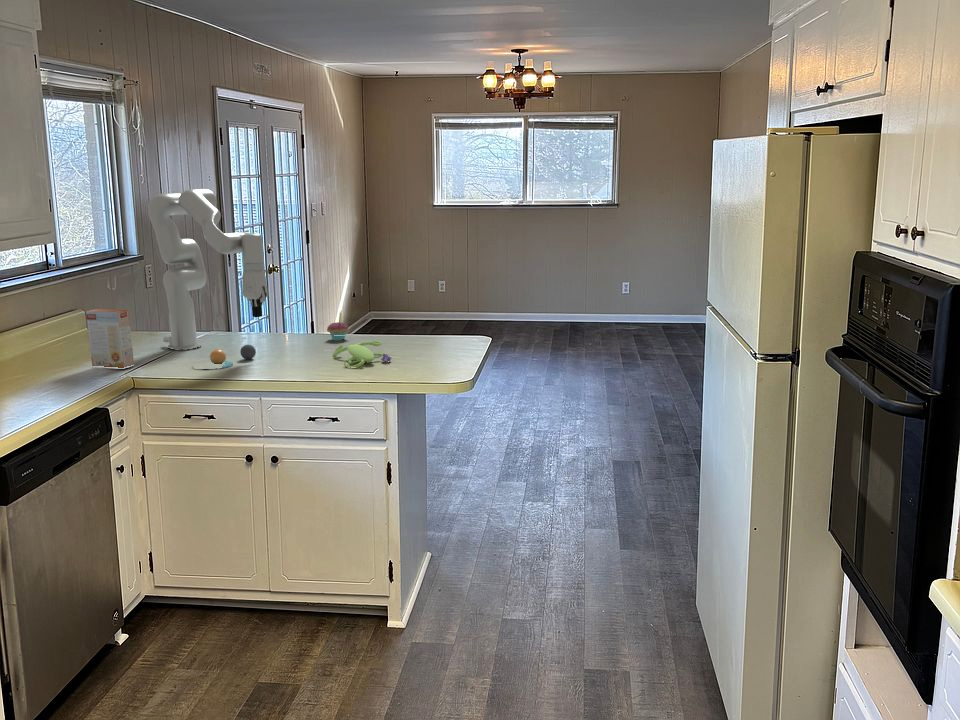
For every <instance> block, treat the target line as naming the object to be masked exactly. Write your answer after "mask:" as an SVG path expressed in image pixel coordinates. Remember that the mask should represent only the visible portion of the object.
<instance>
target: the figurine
mask: <svg viewBox="0 0 960 720" xmlns="http://www.w3.org/2000/svg"><path fill="white" fill-rule="evenodd" d="M381 345H382V341H381V340H380V341H379V340H370V341H369V340H367V341H364V342H358V343H356V344H350V345H349V344H348V346H345V347H344V345H339V346H338V347H337V348H336V349H335V351H334V352H333V354H332V357H336V356H338V355H340V353H343V352H345V351H347V353H349V354H350V355H351V357H350V358H349V359H348V364H351V365H347V361H343V365H344V368H346V367H350V368H351V367H358V368H360V367H361V366H363V365H365V364H364V363H365V362H366V363H368V362H373V361H374V360H375V357H376V356H377V357H378V356H379V357H382V358H380V360H381V361H382V362H385V363H387V362H388V361H390V362H391V360H392V357H391V356H390V355H389V354H386V353H381V352H372V351H371V350H370V349H369V348H368V347H366V346H372V347H380V346H381ZM356 359H357V360H356ZM356 363H357V364H356ZM388 363H389V362H388ZM352 364H355V365H352ZM350 368H349V369H350Z"/></svg>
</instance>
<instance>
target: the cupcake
mask: <svg viewBox="0 0 960 720" xmlns="http://www.w3.org/2000/svg"><path fill="white" fill-rule="evenodd" d="M326 331H327V332H328V333H329V334H330V335H331V339H332V340H333V341H336V342H338V341H343V340H342V339H344V340H345V339H346V335H347V332H348V331H349V326H348V325H347V324H346V323H344V322H342V311H340V312H339V317H338V322H335V321H334V322H332V323H330V324H328V325H327V328H326ZM334 335H345V336H334Z"/></svg>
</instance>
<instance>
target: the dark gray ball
mask: <svg viewBox="0 0 960 720" xmlns="http://www.w3.org/2000/svg"><path fill="white" fill-rule="evenodd" d="M239 353H240V356H241V357H242V358H243V359H245V360H252V359H254V358H255V356H256V353H257V352H256V348H255V347H254V346H253V345H251V344H245V345H242V347H241V349H240V351H239Z"/></svg>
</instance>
